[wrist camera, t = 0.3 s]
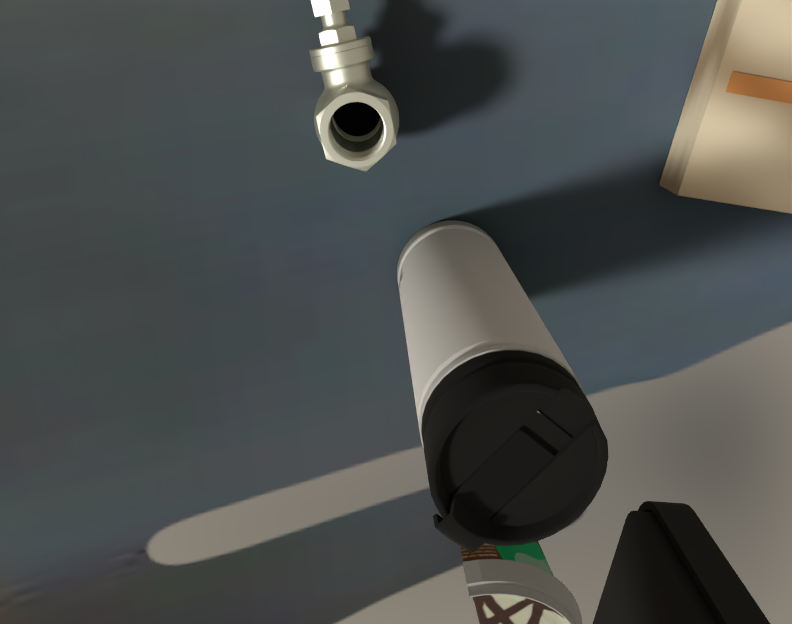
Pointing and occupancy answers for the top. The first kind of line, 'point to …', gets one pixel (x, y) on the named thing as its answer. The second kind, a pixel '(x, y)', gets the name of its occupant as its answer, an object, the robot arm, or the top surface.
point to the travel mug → (492, 396)
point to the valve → (349, 90)
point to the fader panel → (738, 111)
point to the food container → (517, 586)
